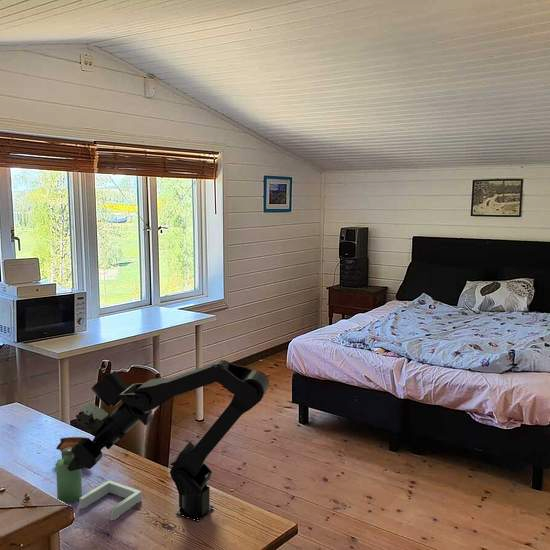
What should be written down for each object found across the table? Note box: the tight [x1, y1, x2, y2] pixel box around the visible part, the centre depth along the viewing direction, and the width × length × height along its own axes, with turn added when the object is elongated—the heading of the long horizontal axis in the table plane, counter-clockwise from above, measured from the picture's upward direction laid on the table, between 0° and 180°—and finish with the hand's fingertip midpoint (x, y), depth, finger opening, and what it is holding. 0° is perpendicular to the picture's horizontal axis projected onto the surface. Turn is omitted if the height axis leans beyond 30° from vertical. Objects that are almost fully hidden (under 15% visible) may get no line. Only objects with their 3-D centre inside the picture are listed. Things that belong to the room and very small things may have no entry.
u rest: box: [78, 480, 143, 521], centre depth 132 cm, size 10×10×2 cm
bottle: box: [55, 447, 83, 504], centre depth 134 cm, size 6×6×12 cm
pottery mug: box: [56, 436, 86, 461], centre depth 153 cm, size 12×10×8 cm
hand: (78, 460), depth 134 cm, fingers open, 9 cm apart
